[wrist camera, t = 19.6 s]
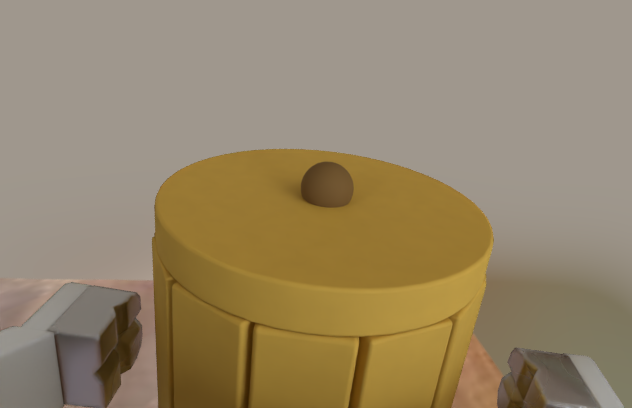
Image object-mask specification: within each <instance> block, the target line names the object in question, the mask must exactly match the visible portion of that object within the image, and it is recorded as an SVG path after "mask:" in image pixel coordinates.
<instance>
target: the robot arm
mask: <svg viewBox="0 0 632 408" xmlns="http://www.w3.org/2000/svg"><path fill="white" fill-rule="evenodd" d="M140 310H141V300H140V296H139V295H138V294H137V293H136V292H130V291H124V290H118V289H112V288H106V287H100V286H91V285H87V284H80V283H73V282H71V283H67V284H65V285H63V286H62V287H61V288H60V289H59V290H58V291H57V292H56V293H55V294H54V295H53V296H52V297H51V298H50V299H49V300H48V301H47V302H46V303H45V304H44V305H43V306H42V307H41V308H40V309H39V310H38V311H36V312H35V313H34V314H33V315H32V316H31V317H30V318H29V319H28V320H27V321H26V322H25V323H24V324H23V325H22V326H21V327H16V326H12V327H10V328H7V329H4V330H2V331H0V408H62V407H64V404H68V405H76V406H84V407H93V408H107V406H108V404H109V403H110V401H111V400H112V398H113V396H114V395H115V393H116V392H117V390H118V388H119V387H120V385H121V377H120V374H122V373H124V372H126V371H127V370H129V369H131V367H132V366H133V364H134V362H135V360H136V359H137V356H138V353H139V350H140V347H141V341H142V325H141V324H140V322H139V321H138V320H137V318H136V316H137V314H138V313H139V312H140ZM508 364H509V367H510V369H511V372H510V373H508V374H507V375H506V376H504V377H503V378H502V379H501V382H500V386H499V389H498V399H497V405H498V408H624V406H623V405H622V403H621V402H620V400H619V398H618V397H617V395H616V394H615V392H614V391H613V389H612V388H611V386H610V385H609V383H608V382H607V380H606V379H605V377H604V375H603V374H602V373H601V371H600V369H599V368H598V366H597V365H596V363H595V362H594V360H593V359H591V358H590V357H588V356H582V355H574V354H564V353H563V354H558V353H552V352H544V351H537V350H530V349H523V348H514V350H513V351H512V352H511V354H510V357H509V359H508Z"/></svg>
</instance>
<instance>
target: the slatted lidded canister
mask: <svg viewBox="0 0 632 408" xmlns="http://www.w3.org/2000/svg"><path fill="white" fill-rule="evenodd" d="M493 242H494V238H493V232H492V227H491V225H490V223H489V221H488V219H487V217H486V216H485V215H484V213H482V211H481V210H480V209H479V208H478V207H477V206H476V205H475V204H474V203H473V202H472V201H471V200H469V199H468V198H467V197H465V196H464V195H463V194H461V193H460V192H458V191H456V190H454V189H453V188H451V187H450V186H448V185H445V184H444V183H442V182H440V181H438V180H436V179H433V178H431V177H429V176H426V175H424V174H422V173H419V172H416V171H413V170H411V169H408V168H404V167H401V166H398V165H395V164H391V163H387V162H384V161H380V160H376V159H371V158H367V157H361V156H356V155H351V154H344V153H337V152H329V151H319V150H304V149H266V150H252V151H243V152H237V153H230V154H224V155H220V156H216V157H212V158H208V159H205V160H202V161H198V162H196V163H194V164H191V165H189V166H186V167H185V168H183V169H181V170H179V171H177V172H176V173H174V174H173V175H172V176H170V177H169V178H168V179H167V180H166V181H165V182H164V183H163V185H162V186H161V187H160V190H159V192H158V193H157V196H156V199H155V237H153V238H152V251H153V279H154V305H155V331H156V357H157V383H158V408H451V406H452V403H453V399H454V396H455V392H456V389H457V385H458V382H459V378H460V375H461V371H462V368H463V364H464V361H465V357H466V354H467V350H468V347H469V343H470V340H471V337H472V333H473V330H474V326H475V323H476V319H477V316H478V312H479V309H480V305H481V302H482V298H483V295H484V291H485V288H486V281H485V280H486V269H487V266H488V262H489V258H490V255H491V251H492V247H493Z"/></svg>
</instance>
